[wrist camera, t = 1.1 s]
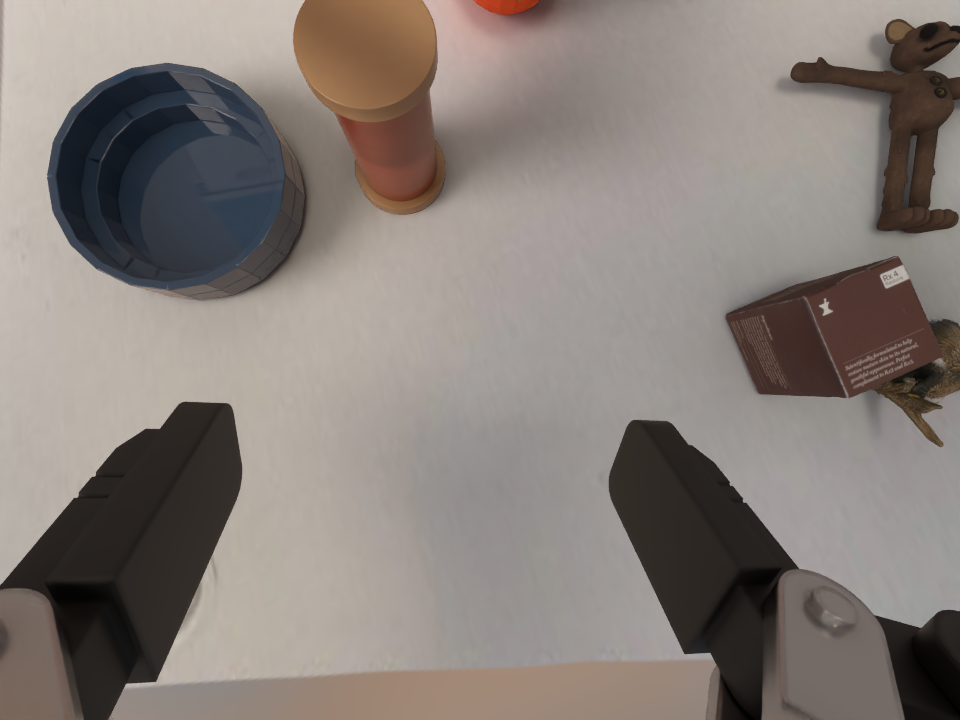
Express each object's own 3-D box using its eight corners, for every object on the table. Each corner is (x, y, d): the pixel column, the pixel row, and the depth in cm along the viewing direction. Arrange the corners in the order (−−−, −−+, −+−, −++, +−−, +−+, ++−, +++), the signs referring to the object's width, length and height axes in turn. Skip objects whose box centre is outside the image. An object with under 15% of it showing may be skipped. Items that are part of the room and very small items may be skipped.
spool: (381, 115, 31) (332, -54, 19) (459, 153, 31) (460, 10, 19) (343, 191, 30) (267, 69, 18) (422, 229, 30) (398, 133, 18)
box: (755, 395, 31) (846, 401, 24) (721, 314, 31) (801, 294, 24) (833, 362, 31) (947, 357, 24) (800, 281, 32) (903, 252, 24)
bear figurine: (802, 210, 28) (830, -32, 28) (758, 226, 33) (780, 17, 32) (1072, 235, 29) (1106, 0, 29) (994, 247, 34) (1022, 44, 33)
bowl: (161, 72, 30) (115, 25, 26) (340, 158, 30) (323, 125, 26) (67, 247, 29) (5, 226, 25) (252, 334, 30) (220, 327, 26)
